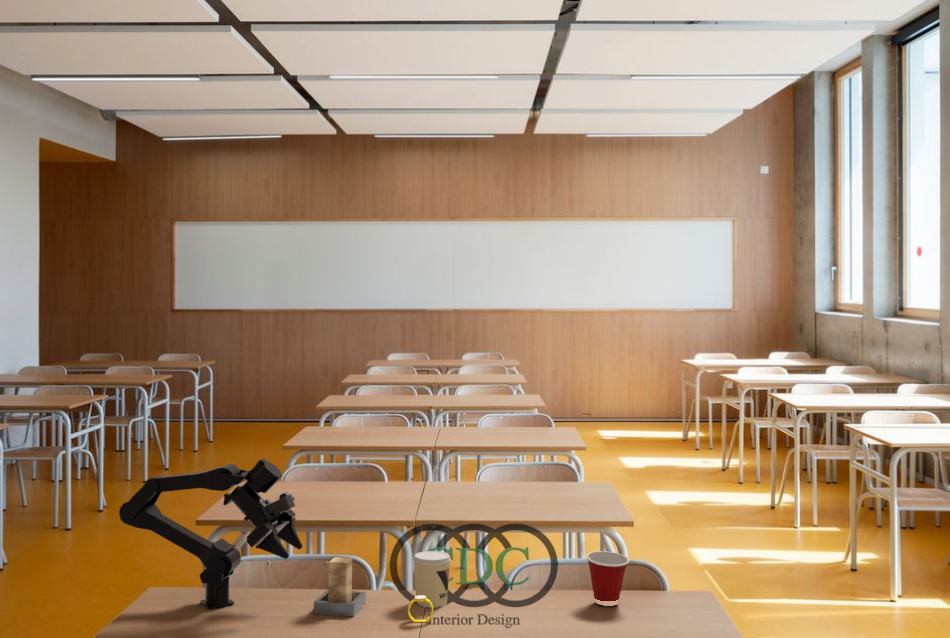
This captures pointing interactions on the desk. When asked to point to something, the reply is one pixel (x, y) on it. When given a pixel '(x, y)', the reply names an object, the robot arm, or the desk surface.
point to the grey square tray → (339, 605)
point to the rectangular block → (340, 580)
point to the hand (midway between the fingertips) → (294, 552)
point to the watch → (420, 598)
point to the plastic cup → (607, 574)
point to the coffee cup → (432, 577)
